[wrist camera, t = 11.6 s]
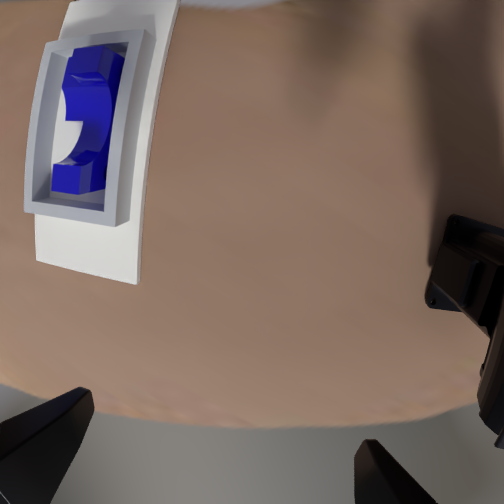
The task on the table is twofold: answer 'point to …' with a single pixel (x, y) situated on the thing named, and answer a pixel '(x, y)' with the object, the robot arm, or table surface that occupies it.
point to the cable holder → (89, 118)
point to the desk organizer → (121, 145)
